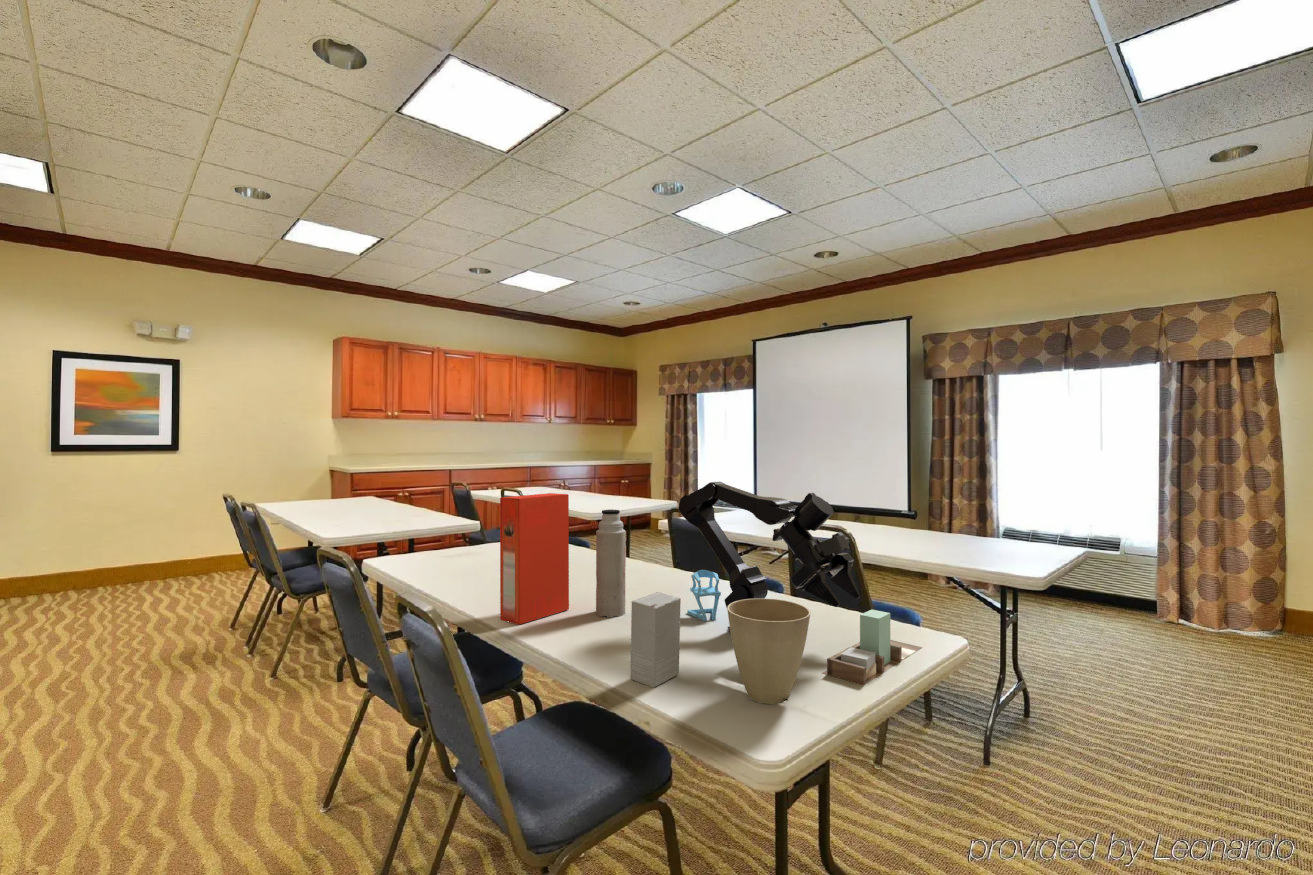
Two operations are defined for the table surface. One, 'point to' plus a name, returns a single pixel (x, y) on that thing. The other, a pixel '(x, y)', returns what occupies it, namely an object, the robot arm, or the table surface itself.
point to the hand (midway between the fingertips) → (848, 601)
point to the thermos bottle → (610, 565)
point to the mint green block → (875, 633)
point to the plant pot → (768, 645)
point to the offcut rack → (858, 673)
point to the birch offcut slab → (871, 671)
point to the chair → (704, 594)
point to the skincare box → (655, 638)
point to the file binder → (534, 556)
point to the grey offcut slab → (858, 657)
